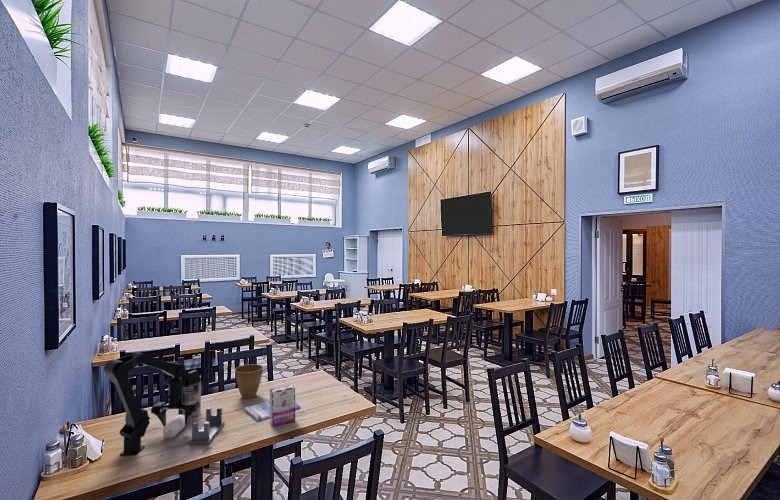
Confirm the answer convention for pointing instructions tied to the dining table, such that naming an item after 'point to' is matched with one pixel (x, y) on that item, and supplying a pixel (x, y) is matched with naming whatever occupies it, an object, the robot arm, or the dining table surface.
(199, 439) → the roll holder
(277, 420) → the candy bar box
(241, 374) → the plant pot
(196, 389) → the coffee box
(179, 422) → the paper roll
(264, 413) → the dish towel
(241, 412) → the dining table surface
